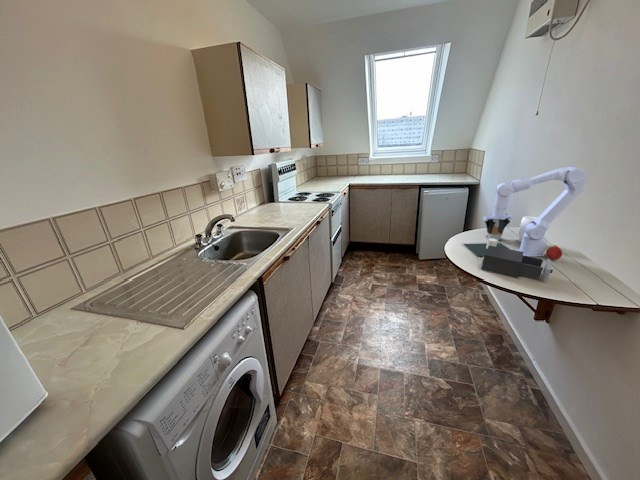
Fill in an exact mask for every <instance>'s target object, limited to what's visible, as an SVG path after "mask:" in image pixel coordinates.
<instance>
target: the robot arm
mask: <svg viewBox="0 0 640 480" xmlns="http://www.w3.org/2000/svg"><path fill="white" fill-rule="evenodd" d="M587 179H588V177H587V173H586V171H585V169H583V168H580V167H579V168H578V167H575V166H574V165H567V166H565V167H559V168H556V169H553V170H550V171H547V172H544V173H541V174H539V175H536V176H532V177H527V176H524V177H523V176H520V177H519V178H517V179H514V180H507V182H501V183H499V184H498V185H497V186H496V188H495V191H496V194H495V198H494V202H493V207H492V212H491V214H492V215H491V214H489V215H484V216H483V217H482V221H484V223H485V226H486V233H487V234H488V233H489V234H491V233H492V230H493V227H494V225H495V223H496V222H493V220H499V226H498V232H499V233H502V232H503V233H504V230H505V228H506V227H507V226H508V225H509V224H510V223H511V220H513V217H514V215H513V214H507V209H508V205H509V201H510V197H511V195H512V194H515V193H518V192H522V191H525V190H529V189H530V188H531V187H532V186H533V185H537V184H541V183H545V182H548V181H554V180H556V181H562V182H563V185H564V190H563V191H562V193H560V194H559V196H557V197H556V198H555V199H554V200H553V201H552V203H551V204H550V205H548V207H546V209H544V211H543V212H542V213H540V214H539V216H537V218H535V219H533V220H532V221H531V222H529V223H527V224H526V225H525V226H524V230H525V234H524V235H523V239H522V242H520V247H519V248H517V249H516V248H515V249H514V250H516V251H521V252H523V255H524V256H530V257H545V254H544V253H545V251H546V247H547V240H546V238H545V234H546V232H547V230H548V229H549V227H550V224H551V223H552V222H553V221H554V220H555V219H556V218H557V217H558V216H559V215H560V214H561V213H562V212H563V211H564V210H565V209H566V208H567V207H568V206H569V205H570V204H571V203H572V202H573V201H575V199H576V198H577V197H578V196H580V195H581V193H582V192H583V189H584V185H585V183H586V180H587ZM505 214H507V215H505ZM503 233H502V234H503Z"/></svg>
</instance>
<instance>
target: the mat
mask: <svg viewBox="0 0 640 480" xmlns="http://www.w3.org/2000/svg"><path fill="white" fill-rule="evenodd" d="M463 246H465V247H466V248H467V249H468V250H470V251H471V252H472V253H473V254H474V255H475V256H477V257H478V258H484V255H485V253H486V251H487V248H486V246H487V242H486V243H485V242H484V243H463ZM496 247H500V248H505V249H510V248H509V247H507V246H506V245H504V244H502V243H501V242H497V246H496Z"/></svg>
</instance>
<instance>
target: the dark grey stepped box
mask: <svg viewBox="0 0 640 480" xmlns="http://www.w3.org/2000/svg"><path fill="white" fill-rule="evenodd" d="M522 258H523V252H521V251H516V250H515V249H510V248H509V249H505V248H500V247H494V246H489V247H488V249H487V251H486V253H485V255H484V257H483V259H482V265H481V270H482V271H486V272H490V273H494V274H498V275H503V276H506V277H511V278H515V279H518V277H519V270H520V267H521V263H522Z"/></svg>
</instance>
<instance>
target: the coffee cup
mask: <svg viewBox="0 0 640 480" xmlns="http://www.w3.org/2000/svg"><path fill="white" fill-rule="evenodd" d="M490 215H492V213H490ZM505 215H508V213H506V214H505ZM493 222H496V223H495V225H494V227H493V230H492V233H491V234H489V233H487V239H489V238H493V239H496V240H498V241H500V240H501V239H502V235H503V234H504V231H503V232H502V233H499V232H498V226H499V220H493Z"/></svg>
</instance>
